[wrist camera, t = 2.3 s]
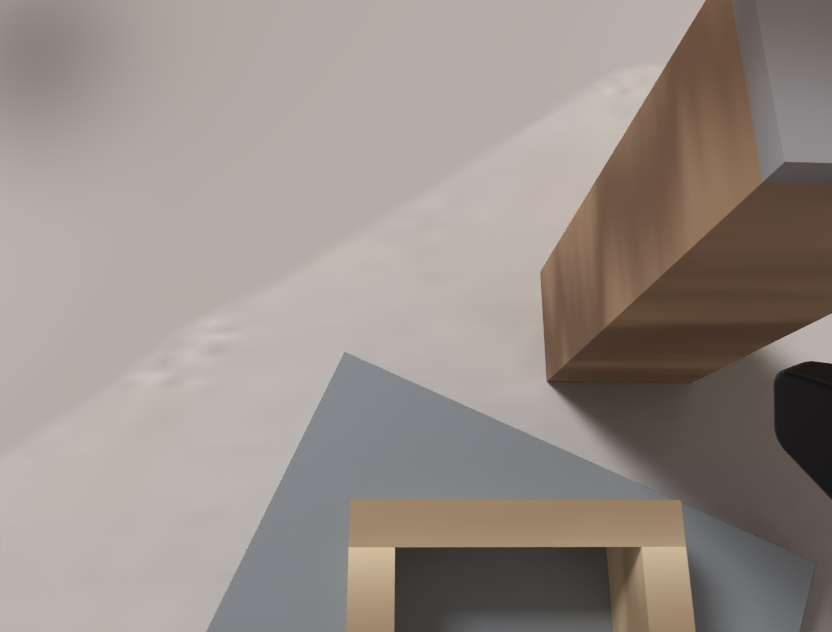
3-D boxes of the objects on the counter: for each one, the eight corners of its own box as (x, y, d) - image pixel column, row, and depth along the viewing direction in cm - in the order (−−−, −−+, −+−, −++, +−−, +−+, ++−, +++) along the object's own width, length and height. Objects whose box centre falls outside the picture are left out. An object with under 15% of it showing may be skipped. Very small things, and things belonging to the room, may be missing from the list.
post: (690, 382, 24) (1121, 170, 10) (547, 381, 24) (784, 161, 10) (677, 274, 25) (1044, -50, 11) (540, 271, 25) (743, -63, 11)
